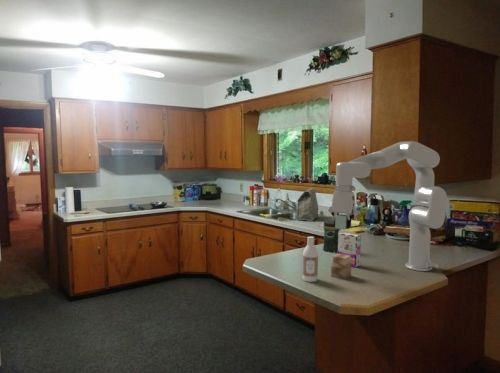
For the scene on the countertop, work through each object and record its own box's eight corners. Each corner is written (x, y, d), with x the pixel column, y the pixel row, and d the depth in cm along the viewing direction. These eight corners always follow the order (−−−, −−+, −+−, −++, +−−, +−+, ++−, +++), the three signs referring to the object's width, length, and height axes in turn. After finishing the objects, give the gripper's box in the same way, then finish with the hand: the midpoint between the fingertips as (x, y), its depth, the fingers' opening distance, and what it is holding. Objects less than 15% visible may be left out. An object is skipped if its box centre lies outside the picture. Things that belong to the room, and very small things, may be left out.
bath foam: (302, 281, 167) (302, 238, 166) (302, 276, 174) (303, 235, 172) (317, 282, 166) (318, 239, 164) (317, 277, 173) (318, 235, 171)
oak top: (350, 266, 175) (350, 255, 175) (344, 269, 171) (345, 258, 170) (338, 263, 179) (338, 253, 179) (332, 266, 175) (333, 256, 174)
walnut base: (351, 276, 176) (351, 266, 176) (344, 280, 171) (345, 269, 170) (337, 273, 180) (337, 263, 180) (331, 276, 175) (331, 266, 175)
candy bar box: (360, 265, 192) (361, 234, 190) (355, 267, 188) (356, 236, 187) (341, 261, 200) (342, 231, 198) (336, 263, 196) (337, 232, 195)
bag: (301, 216, 342) (302, 187, 340) (319, 217, 336) (319, 188, 334) (295, 220, 321) (295, 189, 319) (313, 222, 315) (314, 190, 313)
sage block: (349, 227, 174) (350, 215, 173) (345, 229, 170) (345, 216, 169) (339, 226, 177) (340, 214, 176) (335, 228, 173) (335, 215, 172)
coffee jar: (340, 249, 224) (341, 219, 222) (337, 253, 217) (338, 221, 215) (324, 248, 228) (325, 218, 226) (321, 251, 221) (322, 220, 219)
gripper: (364, 189, 169) (363, 228, 171) (330, 187, 180) (329, 223, 182) (358, 190, 164) (356, 231, 165) (323, 188, 174) (322, 226, 176)
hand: (342, 226), depth 173 cm, fingers closed on sage block, 5 cm apart
